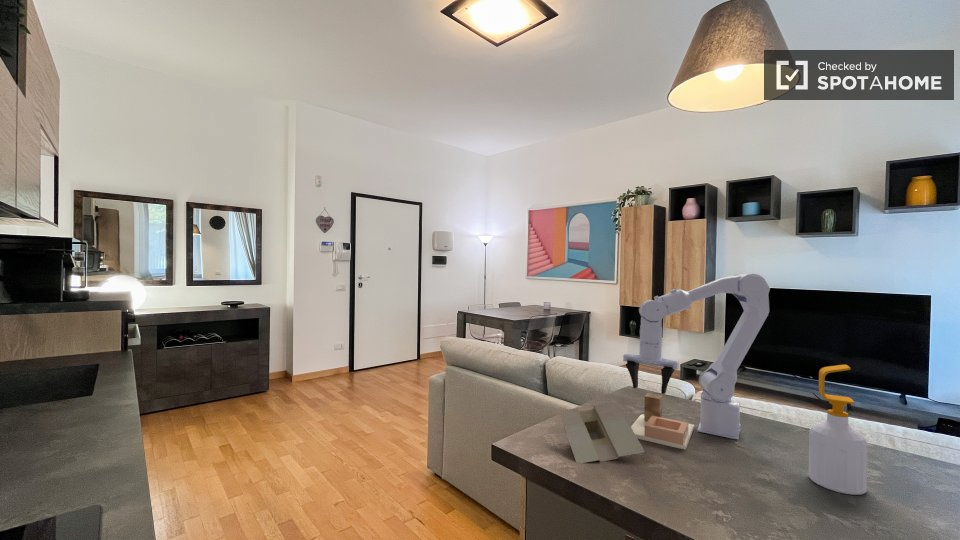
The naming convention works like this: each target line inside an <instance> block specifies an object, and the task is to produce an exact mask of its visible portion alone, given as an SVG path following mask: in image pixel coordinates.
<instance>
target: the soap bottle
mask: <svg viewBox="0 0 960 540" xmlns="http://www.w3.org/2000/svg"><path fill="white" fill-rule="evenodd" d="M851 369H852V368H851V366H849V365H847V364H838V365H830V366H824V367H821V368H820V369H819V371H818V391H819V394H820V396H821V397H822V398H823V399H824V400H826V401H828V403H829V404H830V405H832V409H831V408H830V409H827V411H826V413H827V414H826V420H824V421H822V422H818V423H815V424H813V425H812V426H811V427H810V429H809V431H808V478H810V480H811V481H812V482H814V483H815V484H816V485H818V486H821V487H823V488H825V489H827V490H830V491H833V492H835V493H840V494H845V495H854V496H855V495H859V496H860V495H864V494H865V493H867V491H868V490H867V488H868V487H867V486H868V481H867V480H868V440H867V439H866V437H865V436H864V435H863V434H862V433H861V432H859V431H858V430H857V429H855V428H853V427H852V426H851V425H850V424H849V413H848V412H846V411H844V407H847V404H850V405H854V404H855V401H854V400H853V399H852V398H851V397H849V396H842V395H834V394H827V393H825V386H826V385H825V383H826V382H825V381H826V379H825V378H826V376H827V374H830V373H837V372H844V371H850V370H851Z"/></svg>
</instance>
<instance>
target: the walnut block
mask: <svg viewBox="0 0 960 540" xmlns="http://www.w3.org/2000/svg"><path fill="white" fill-rule="evenodd" d="M643 411H644V413H643V415H644V421H646V422H648V420H649V419H650V417H651V416H657V417H662V418H663V394H662V395H661V394H658V393H657V394H655V393H650V392H647V393H646V394H645V395H644V409H643Z"/></svg>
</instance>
